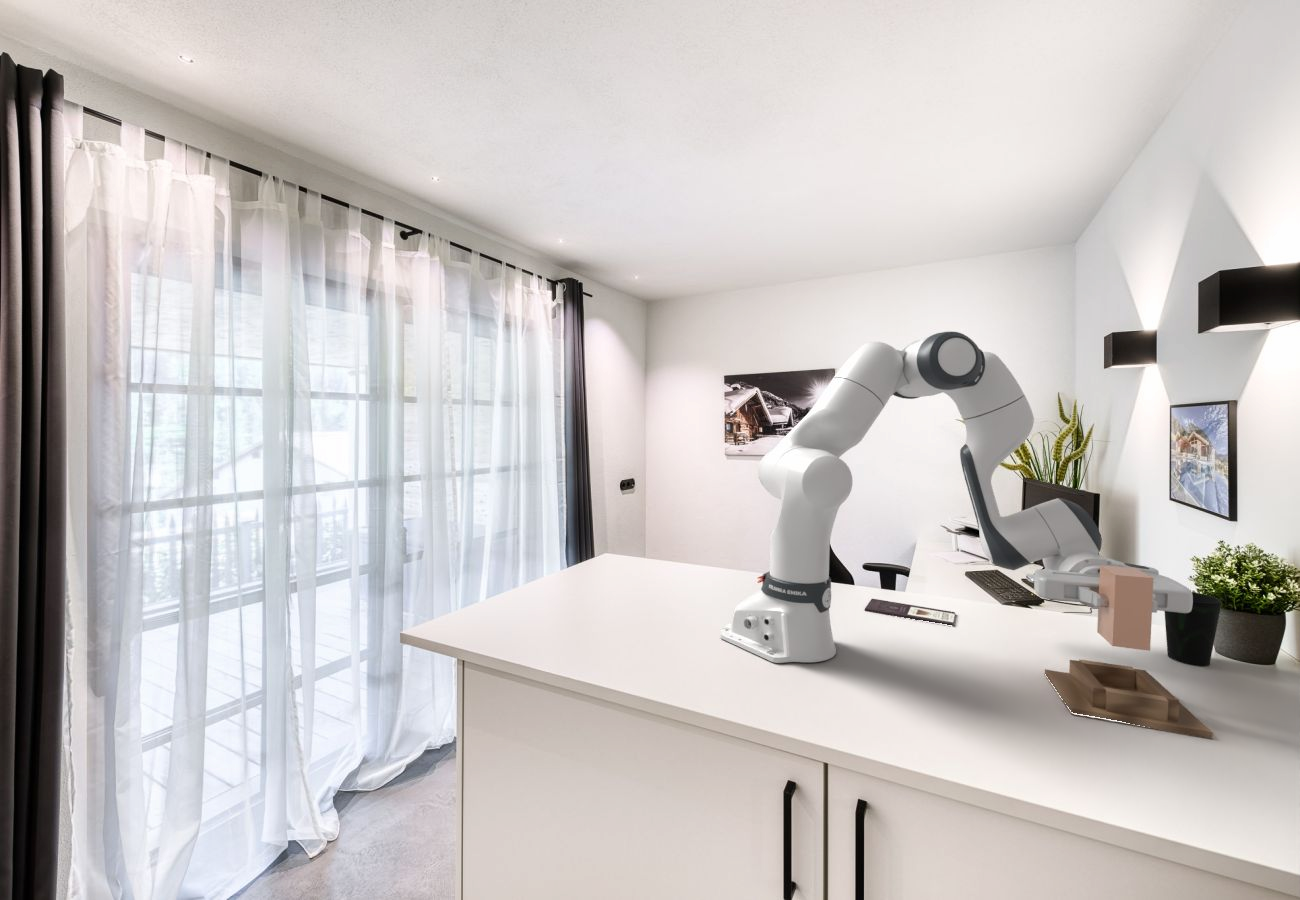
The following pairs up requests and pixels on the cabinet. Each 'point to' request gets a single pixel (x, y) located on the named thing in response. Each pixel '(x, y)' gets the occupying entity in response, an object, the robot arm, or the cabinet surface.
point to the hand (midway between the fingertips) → (1126, 604)
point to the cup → (1193, 631)
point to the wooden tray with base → (1124, 697)
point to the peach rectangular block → (1126, 607)
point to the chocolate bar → (910, 611)
